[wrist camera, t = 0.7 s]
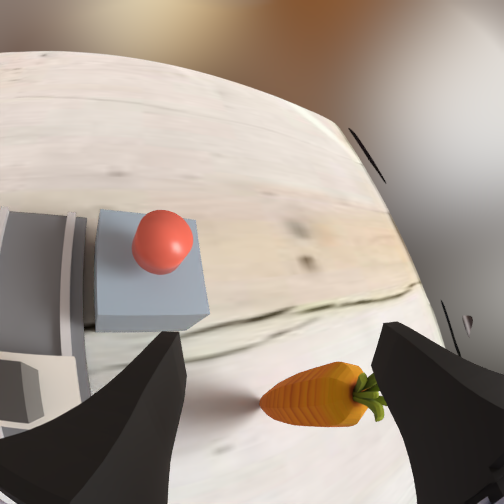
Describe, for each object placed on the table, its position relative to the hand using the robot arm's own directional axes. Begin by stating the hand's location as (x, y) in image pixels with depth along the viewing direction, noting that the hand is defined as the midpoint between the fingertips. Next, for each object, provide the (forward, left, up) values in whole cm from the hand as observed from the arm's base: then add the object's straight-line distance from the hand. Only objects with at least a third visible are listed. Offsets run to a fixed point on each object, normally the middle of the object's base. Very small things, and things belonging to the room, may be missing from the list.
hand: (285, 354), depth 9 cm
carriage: (-10, +6, -14) cm, 18 cm away
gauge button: (+3, +8, -9) cm, 12 cm away
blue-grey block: (+3, +8, -16) cm, 18 cm away
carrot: (+5, -8, -16) cm, 18 cm away
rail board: (-7, +10, -16) cm, 20 cm away
